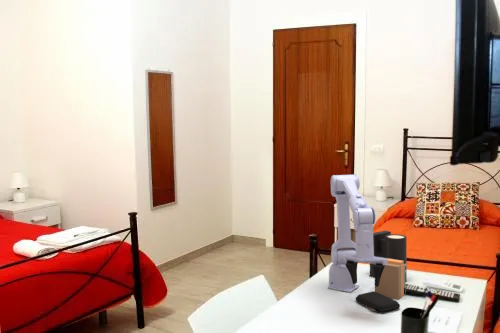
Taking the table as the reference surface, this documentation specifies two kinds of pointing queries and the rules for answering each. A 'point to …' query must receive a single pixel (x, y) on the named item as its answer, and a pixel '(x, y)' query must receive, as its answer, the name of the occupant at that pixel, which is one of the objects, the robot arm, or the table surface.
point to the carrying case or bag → (377, 302)
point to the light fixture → (389, 248)
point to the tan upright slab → (392, 279)
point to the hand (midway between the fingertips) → (365, 284)
